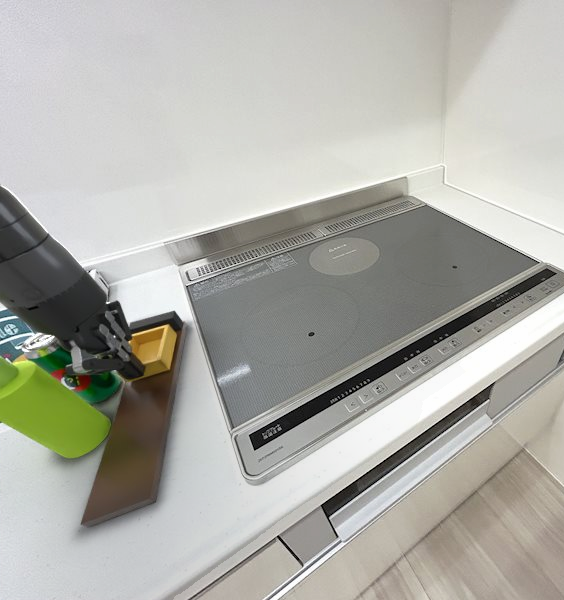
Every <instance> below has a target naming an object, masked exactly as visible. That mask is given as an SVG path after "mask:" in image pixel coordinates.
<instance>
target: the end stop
mask: <svg viewBox="0 0 564 600" xmlns="http://www.w3.org/2000/svg"><path fill="white" fill-rule="evenodd" d="M183 321H184V320H182V318H181V317H180V315H179V314H178V313H177V312H176V310H171V311H168V312H164V313H160V314H157V315H153V316H150V317H146V318H142V319H139V320H135V321H132V322H130V323H129V324H128V326H129V329H130V332H131V334H136V333H139V332H143V331H146V330H150V329H154V328H157V327H161V326H164V325H168V324H169V325H170V326H171V328H172V329H173V330H174V331H175V332H176V331H179V330H182V327H183Z"/></svg>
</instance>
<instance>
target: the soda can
mask: <svg viewBox="0 0 564 600" xmlns="http://www.w3.org/2000/svg"><path fill="white" fill-rule="evenodd" d="M20 350H21V351H22V352H23V357H24V358H25V359H26V360H27V361H32V362H34V363H35V364H37V365H38V366H39V367H41V368H42V369H43V370H45V371H46V372H47V373H49V374H50V375H51V376H53V377H54V378H55V379H57V380H58V381H59V382H61V383H62V384H63V385H65V386H66V387H67V388H69V389H70V390H71V391H73V392H74V393H75V394H77V395H78V396H79V397H81V398H82V399H83V400H85V401H86V402H87V403H89V404H96V403H100V402H103V401H105V400H107V399H108V398H110V397H111V396H113V395H114V394H115V393H116V392H117V391H118V389H119V387H120V385H121V377H120V376H119V375H118V374H117V373H116V371H115V370H114V371H110V372H107V373H105V374H102V375H68V374H67V373H66V371H65V367H66V366H67V365H70V364H73V362H72V356H71V352H69V351H66V350H65V349H64V348H63V347H62V346H61V344H60V342H59V341H58V339H57V338H56V337H54V336H51V335H47V334H42V333H38V332H35V333H34V334H32V335H31V336H29V337H28V338H27V339H26V340H25V341H23V343H22V344H21V347H20Z"/></svg>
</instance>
